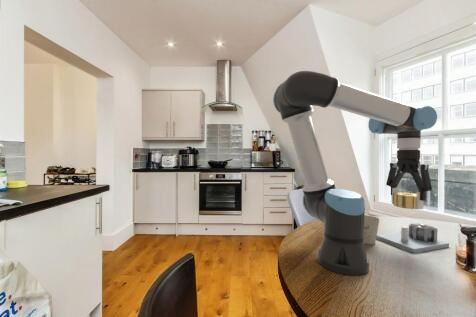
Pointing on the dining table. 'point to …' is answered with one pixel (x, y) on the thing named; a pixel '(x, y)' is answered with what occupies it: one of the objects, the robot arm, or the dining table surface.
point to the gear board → (410, 241)
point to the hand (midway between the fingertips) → (406, 206)
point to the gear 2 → (423, 232)
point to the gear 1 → (405, 200)
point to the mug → (370, 229)
